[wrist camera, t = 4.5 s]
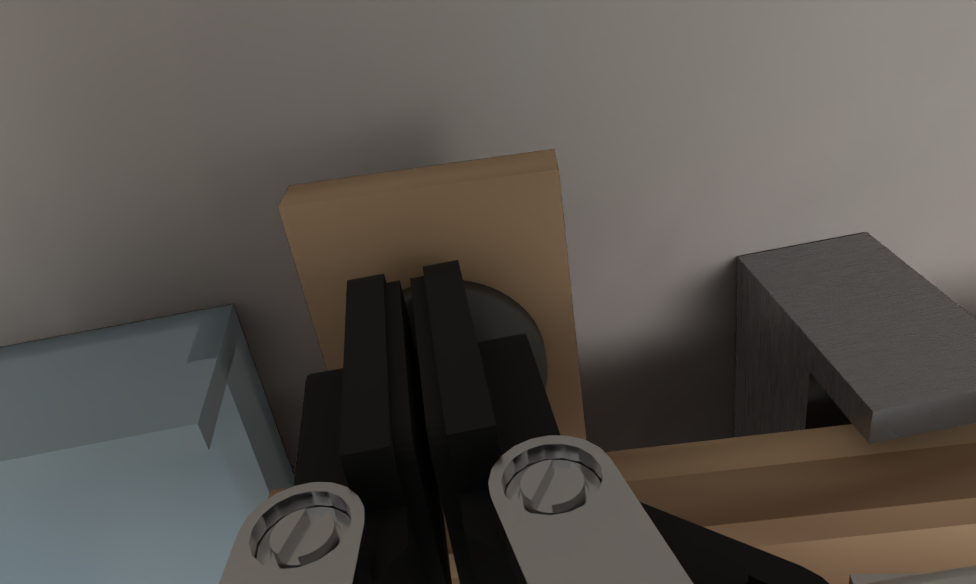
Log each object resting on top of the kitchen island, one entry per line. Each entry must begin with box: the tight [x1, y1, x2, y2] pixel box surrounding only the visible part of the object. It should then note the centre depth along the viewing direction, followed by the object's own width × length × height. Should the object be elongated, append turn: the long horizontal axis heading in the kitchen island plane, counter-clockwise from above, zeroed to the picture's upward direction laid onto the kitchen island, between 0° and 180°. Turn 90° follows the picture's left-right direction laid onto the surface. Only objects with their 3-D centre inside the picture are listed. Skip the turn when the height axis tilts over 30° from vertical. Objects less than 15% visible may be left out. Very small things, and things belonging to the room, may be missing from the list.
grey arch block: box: [734, 232, 976, 444], centre depth 18 cm, size 9×3×6 cm, turn 8°
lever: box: [268, 149, 976, 584], centre depth 14 cm, size 13×24×4 cm, turn 98°
